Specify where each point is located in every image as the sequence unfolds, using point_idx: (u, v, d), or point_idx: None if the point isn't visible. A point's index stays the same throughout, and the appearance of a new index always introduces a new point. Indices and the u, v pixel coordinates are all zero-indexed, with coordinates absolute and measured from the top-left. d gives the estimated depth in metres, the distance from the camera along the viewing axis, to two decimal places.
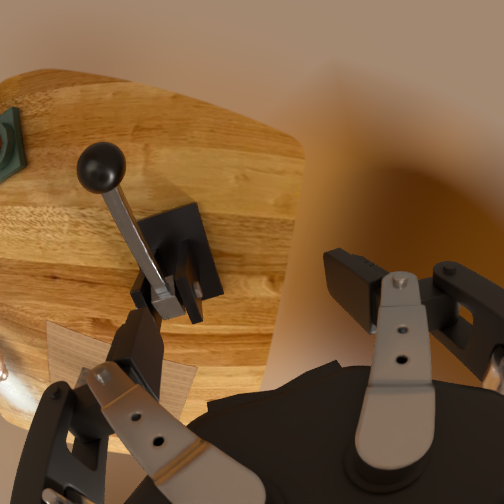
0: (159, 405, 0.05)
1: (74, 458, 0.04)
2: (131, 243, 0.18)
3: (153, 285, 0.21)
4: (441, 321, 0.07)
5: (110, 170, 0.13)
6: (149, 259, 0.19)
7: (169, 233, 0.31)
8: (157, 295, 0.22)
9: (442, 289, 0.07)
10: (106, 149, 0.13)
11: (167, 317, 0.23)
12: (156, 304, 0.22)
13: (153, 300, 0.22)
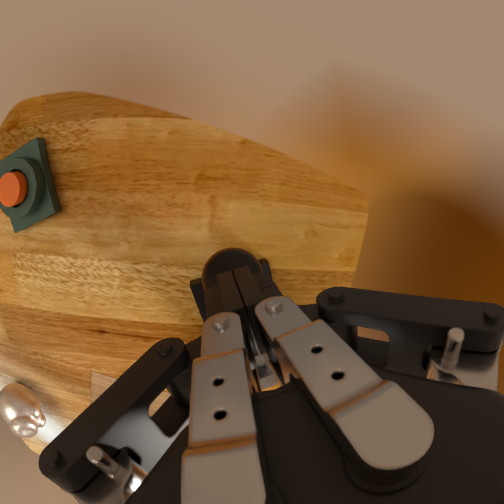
0: (245, 380, 0.05)
1: (151, 423, 0.06)
2: None
3: None
4: None
5: None
6: None
7: None
8: None
9: (325, 318, 0.08)
10: (250, 266, 0.13)
11: None
12: None
13: None
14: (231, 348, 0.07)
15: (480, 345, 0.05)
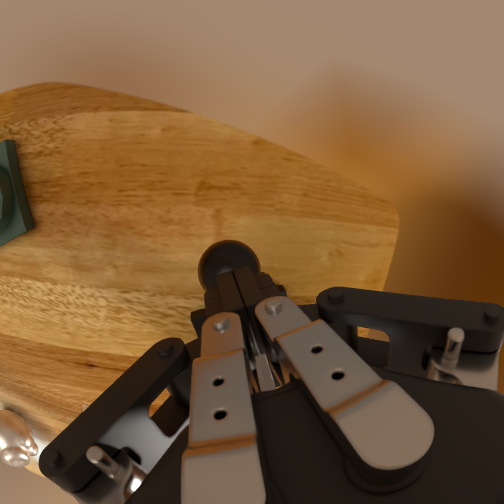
0: (245, 380, 0.05)
1: (151, 422, 0.06)
2: None
3: None
4: None
5: None
6: (272, 384, 0.16)
7: None
8: None
9: (325, 318, 0.08)
10: (243, 247, 0.13)
11: None
12: None
13: None
14: (231, 348, 0.07)
15: (480, 345, 0.05)
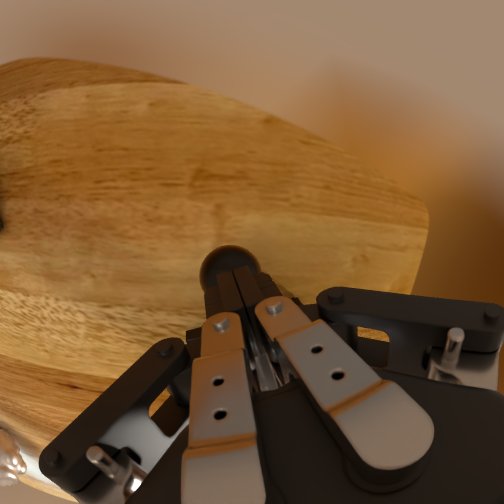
0: (245, 380, 0.05)
1: (151, 422, 0.06)
2: (261, 384, 0.13)
3: None
4: None
5: None
6: None
7: None
8: None
9: (325, 318, 0.08)
10: (241, 248, 0.14)
11: None
12: None
13: None
14: (231, 348, 0.07)
15: (480, 345, 0.05)
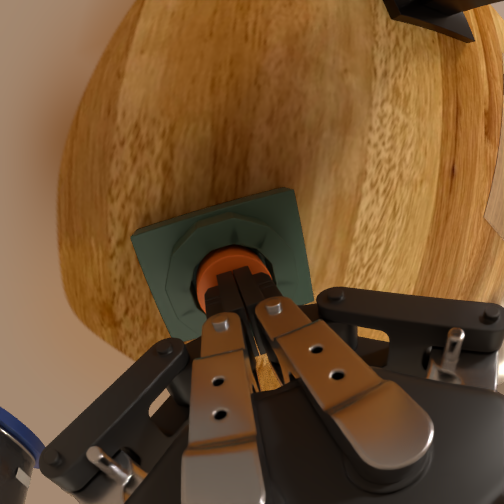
0: (246, 380, 0.05)
1: (151, 422, 0.06)
2: None
3: None
4: None
5: None
6: None
7: None
8: None
9: (325, 319, 0.08)
10: None
11: None
12: None
13: None
14: (231, 348, 0.07)
15: (480, 345, 0.05)
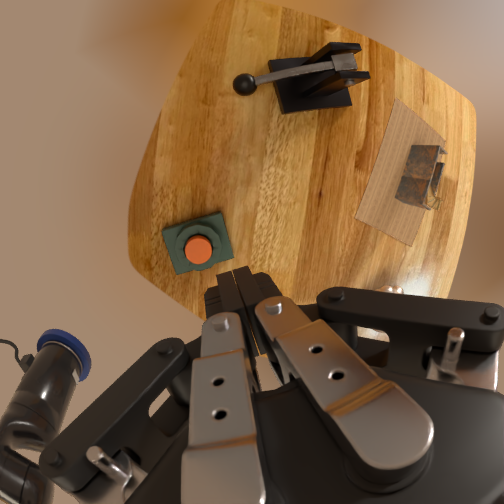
0: (245, 380, 0.05)
1: (151, 422, 0.06)
2: (288, 74, 0.29)
3: (324, 68, 0.27)
4: None
5: (240, 77, 0.30)
6: (301, 66, 0.28)
7: (292, 80, 0.35)
8: (334, 67, 0.27)
9: (325, 318, 0.08)
10: None
11: (353, 64, 0.25)
12: (337, 68, 0.26)
13: (335, 69, 0.27)
14: (231, 348, 0.07)
15: (480, 345, 0.05)
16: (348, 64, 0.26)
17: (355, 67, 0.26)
